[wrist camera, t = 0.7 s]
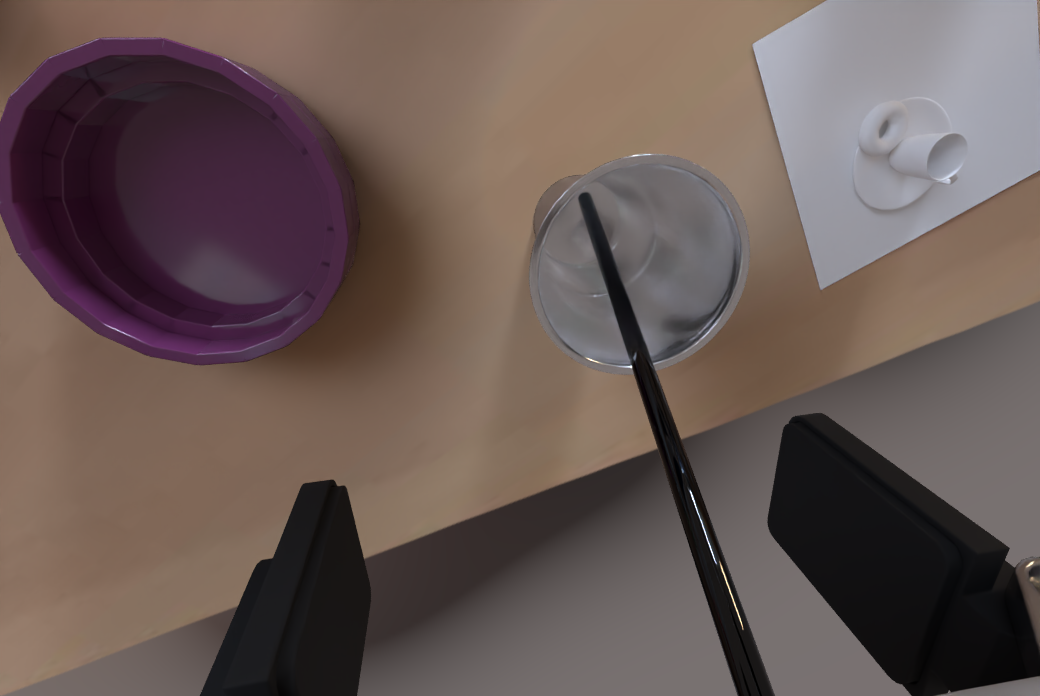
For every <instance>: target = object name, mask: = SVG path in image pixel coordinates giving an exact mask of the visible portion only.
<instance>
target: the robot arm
mask: <svg viewBox="0 0 1040 696" xmlns="http://www.w3.org/2000/svg"><path fill="white" fill-rule="evenodd" d="M768 527H769V530H770V533H771V535H772V536H773V538H774V539H775V540H776V541H777V543H778V544H779V545H780V546H781V547H782V549H783V550H784V551H785V552H786V553H787V555H788V556H789V557H790V558H791V559H792V561H793V562H794V563H795V564H796V565H797V567H798V568H799V569H800V570H801V571H802V573H803V574H804V575H805V576H806V577H807V579H808V580H809V581H810V582H811V583H812V585H813V586H814V587H815V588H816V590H817V591H818V592H819V593H820V594H821V595H822V596H823V598H824V599H825V600H826V601H827V603H828V604H829V605H830V606H831V608H832V609H833V610H834V611H835V612H836V614H837V615H838V616H839V617H840V618H841V620H842V621H843V622H844V623H845V624H846V626H847V627H848V628H849V629H850V630H851V632H852V633H853V634H854V635H855V636H856V638H857V639H858V640H859V641H860V642H861V644H862V645H863V646H864V647H865V648H866V650H867V651H868V652H869V653H870V654H871V656H872V657H873V658H874V659H875V661H876V662H877V663H878V664H879V665H880V667H881V668H882V669H883V670H884V671H885V673H886V674H887V675H888V676H889V677H890V678H891V679H892V680H893V681H895V682H896V683H899V684H902V685H903V686H904V687H905V688H906V689H907V691H908V692H909V693H910V694H911V695H912V696H1040V557H1030V558H1026V559H1023V560H1021V561H1020V562H1019V563H1018V564H1017V565H1016V567H1015V568H1014V567H1013V566H1012V565H1010V564H1009V563H1008V562H1006V561H1005V558H1006V556H1007V553H1008V551H1009V549H1010V548H1009V547H1007V546H1006V545H1005V544H1003V543H1002V542H1001V541H999V540H998V539H996V538H995V537H994V536H992V535H991V534H989V533H988V532H987V531H985V530H984V529H983V528H981V527H980V526H978V525H977V524H975V523H974V522H973V521H971V520H970V519H969V518H967V517H966V516H965V515H963V514H962V513H960V512H959V511H958V510H956V509H955V508H953V507H952V506H950V505H949V504H948V503H946V502H945V501H944V500H942V499H941V498H940V497H938V496H937V495H935V494H934V493H933V492H931V491H930V490H929V489H927V488H926V487H924V486H923V485H922V484H920V483H919V482H917V481H916V480H915V479H913V478H912V477H911V476H909V475H908V474H906V473H905V472H904V471H902V470H901V469H900V468H898V467H897V466H895V465H894V464H893V463H891V462H890V461H889V460H887V459H886V458H884V457H883V456H882V455H880V454H879V453H877V452H876V451H875V450H873V449H872V448H871V447H869V446H868V445H866V444H865V443H864V442H862V441H861V440H859V439H858V438H856V437H855V436H854V435H853V434H851V433H850V432H848V431H847V430H846V429H844V428H843V427H842V426H840V425H839V424H837V423H836V422H835V421H833V420H832V419H830V418H829V417H828V416H826V415H824V414H822V413H814V414H808V415H800V416H795V417H792V418H791V420H790V421H789V424H787V425H785V427H784V429H783V433H782V439H781V444H780V450H779V456H778V462H777V468H776V473H775V479H774V485H773V491H772V496H771V502H770V508H769V514H768ZM370 602H371V590H370V582H369V578H368V574H367V570H366V566H365V562H364V557H363V553H362V549H361V545H360V541H359V537H358V533H357V529H356V525H355V520H354V516H353V512H352V508H351V504H350V500H349V496H348V492H347V488H346V487H345V486H337V484H336V482H335V481H334V480H326V481H319V482H311V483H305V484H303V485H302V486H301V488H300V491H299V493H298V496H297V498H296V501H295V504H294V506H293V509H292V511H291V514H290V516H289V519H288V521H287V524H286V526H285V529H284V532H283V534H282V537H281V539H280V542H279V544H278V547H277V549H276V552H275V554H274V557H273V558H272V559H266V560H261V561H260V562H259V563H258V564H257V565H256V567H255V569H254V570H253V573H252V575H251V577H250V580H249V582H248V584H247V587H246V589H245V591H244V594H243V596H242V598H241V601H240V603H239V605H238V608H237V610H236V612H235V615H234V617H233V619H232V622H231V624H230V627H229V629H228V631H227V634H226V636H225V639H224V640H223V643H222V645H221V648H220V650H219V652H218V655H217V657H216V660H215V662H214V664H213V666H212V669H211V671H210V673H209V676H208V678H207V680H206V683H205V685H204V687H203V690H202V692H201V694H200V696H357V692H358V685H359V678H360V671H361V665H362V657H363V651H364V644H365V637H366V631H367V624H368V617H369V610H370ZM949 690H950V691H951V692H950V693H948V691H949Z"/></svg>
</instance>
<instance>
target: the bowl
mask: <svg viewBox="0 0 1040 696" xmlns="http://www.w3.org/2000/svg"><path fill="white" fill-rule="evenodd" d="M0 214H1V217H2V219H3V221H4V224H5V226H6V229H7V231H8V233H9V236H10V238H11V241H12V243H13V245H14V248H15V250H16V253H18V256H19V257H20V258H21V260H22V261H23V262H24V263H25V265H26V266H27V267H28V268H29V270H30V271H31V272H32V273H33V275H34V276H35V277H36V278H37V280H38V281H39V282H40V284H41V285H42V286H43V287H44V289H45V290H46V291H47V292H48V294H49V295H50V296H51V297H52V298H53V300H54V301H56V302H57V303H58V304H60V305H61V306H62V307H63V308H65V309H66V310H67V311H69V312H70V313H71V314H73V315H74V316H75V317H77V318H78V319H79V320H80V321H82V322H83V323H84V324H86V325H87V326H88V327H90V328H91V329H92V330H93V331H95V332H96V333H98V334H100V335H102V336H104V337H106V338H108V339H111V340H113V341H115V342H117V343H120V344H122V345H124V346H126V347H129V348H131V349H133V350H135V351H138V352H140V353H142V354H144V355H146V356H148V355H149V356H150V357H155V358H161V359H166V360H172V361H177V362H182V363H188V364H193V365H211V364H224V363H237V362H245V361H250V360H252V359H255V358H258V357H260V356H263V355H265V354H268V353H271V352H273V351H276V350H278V349H281V348H284V347H286V346H287V345H289V344H290V343H292V342H293V341H294V340H295V339H297V338H298V337H299V336H300V335H301V334H303V333H304V332H305V331H306V330H307V329H309V328H310V327H311V326H312V325H313V324H315V323H316V322H317V321H318V320H319V319H320V318H321V317H322V315H323V314H324V312H325V310H326V309H327V307H328V306H329V304H330V303H331V301H332V300H333V298H334V297H335V295H336V293H337V291H338V290H339V288H340V286H341V285H342V283H343V281H344V279H345V278H346V276H347V274H348V273H349V271H350V269H351V267H352V266H353V262H354V256H355V251H356V245H357V240H358V235H359V229H360V226H359V225H360V220H359V213H358V207H357V200H356V193H355V186H354V181H353V179H352V177H351V174H350V172H349V170H348V168H347V166H346V164H345V162H344V160H343V157H342V155H341V153H340V151H339V149H338V147H337V145H336V142H335V140H334V139H333V137H332V136H331V135H330V134H329V132H328V131H327V130H326V129H325V128H324V127H323V126H322V124H321V123H320V122H319V121H318V120H317V119H316V117H315V116H314V115H313V114H312V113H311V112H310V110H309V109H308V108H307V107H306V106H305V105H304V103H303V102H302V101H301V100H300V99H299V98H298V97H296V96H295V95H293V94H292V93H290V92H289V91H287V90H286V89H284V88H283V87H281V86H280V85H278V84H277V83H275V82H274V81H272V80H271V79H269V78H268V77H266V76H265V75H263V74H262V73H260V72H259V71H257V70H256V69H253V68H252V67H249V66H246V65H243V64H241V63H238V62H235V61H232V60H230V59H227V58H224V57H221V56H218V55H215V54H212V53H209V52H206V51H203V50H200V49H196V48H193V47H190V46H187V45H184V44H181V43H178V42H175V41H172V40H168V39H165V38H98V39H95V40H93V41H90V42H88V43H85V44H82V45H80V46H77V47H75V48H72V49H69V50H67V51H64V52H62V53H59V54H56V55H54V56H51V57H49V58H48V59H46V60H45V61H44V62H43V63H42V64H41V65H40V66H39V67H38V68H37V69H36V70H35V71H34V72H33V73H32V74H31V75H30V76H29V77H28V78H27V79H26V80H25V81H24V82H23V83H22V84H21V85H20V86H19V87H18V88H17V89H16V90H15V91H14V92H13V93H12V94H11V95H10V97H9V98H8V101H7V104H6V107H5V110H4V113H3V116H2V118H1V121H0Z"/></svg>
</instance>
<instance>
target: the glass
mask: <svg viewBox="0 0 1040 696" xmlns="http://www.w3.org/2000/svg"><path fill="white" fill-rule="evenodd" d="M533 225H534V233H535V241H534V245H533V249H532V253H531V258H530V266H529V286H530V293H531V298H532V303H533V306H534V309H535V312H536V315H537V317H538V319H539V321H540V323H541V325H542V327H543V329H544V330H545V332H546V333H547V335H548V336H549V338H550V339H551V340H552V341H553V342H554V344H555V345H556V346H557V347H558V348H559V349H560V350H562V351H563V352H564V353H565V354H566V355H568V356H569V357H571V358H572V359H574V360H575V361H577V362H579V363H581V364H583V365H585V366H587V367H589V368H592V369H595V370H598V371H602V372H606V373H612V374H624V375H631V374H634V376H635V379H636V382H637V385H638V389H639V392H640V395H641V398H642V401H643V404H644V407H645V410H646V413H647V416H648V419H649V423H650V426H651V429H652V432H653V435H654V438H655V441H656V444H657V447H658V450H659V454H660V456H661V460H662V463H663V466H664V469H665V472H666V475H667V478H668V481H669V485H670V487H671V491H672V494H673V497H674V500H675V503H676V506H677V509H678V512H679V516H680V519H681V521H682V524H683V528H684V531H685V534H686V537H687V540H688V543H689V547H690V550H691V553H692V556H693V559H694V561H695V565H696V568H697V571H698V574H699V577H700V581H701V584H702V587H703V589H704V593H705V596H706V599H707V602H708V605H709V608H710V611H711V615H712V617H713V621H714V624H715V627H716V630H717V633H718V636H719V639H720V642H721V646H722V648H723V652H724V655H725V658H726V661H727V664H728V667H729V670H730V674H731V677H732V680H733V683H734V686H735V689H736V692H737V695H738V696H775V694H774V692H773V689H772V686H771V683H770V681H769V678H768V675H767V673H766V670H765V667H764V664H763V662H762V659H761V656H760V654H759V651H758V648H757V645H756V643H755V640H754V637H753V634H752V632H751V629H750V627H749V623H748V621H747V618H746V615H745V613H744V610H743V607H742V604H741V602H740V599H739V596H738V594H737V591H736V588H735V585H734V583H733V580H732V577H731V574H730V572H729V569H728V566H727V563H726V561H725V558H724V555H723V553H722V550H721V547H720V545H719V542H718V539H717V536H716V534H715V531H714V528H713V525H712V523H711V520H710V517H709V515H708V512H707V509H706V506H705V504H704V501H703V498H702V496H701V493H700V490H699V487H698V485H697V482H696V479H695V476H694V474H693V471H692V468H691V466H690V463H689V460H688V457H687V454H686V452H685V449H684V446H683V444H682V441H681V438H680V435H679V433H678V430H677V427H676V424H675V422H674V419H673V416H672V413H671V411H670V408H669V405H668V403H667V400H666V397H665V394H664V392H663V389H662V386H661V383H660V381H659V378H658V375H657V373H656V371H657V370H660V369H664V368H666V367H669V366H672V365H674V364H676V363H678V362H680V361H682V360H684V359H686V358H688V357H689V356H691V355H692V354H694V353H695V352H697V351H698V350H699V349H701V348H702V347H703V346H704V345H706V344H707V343H708V342H709V341H710V340H711V339H712V338H713V337H714V336H715V335H716V334H717V333H718V332H719V331H720V330H721V328H722V327H723V326H724V325H725V323H726V322H727V320H728V319H729V317H730V316H731V314H732V313H733V311H734V309H735V307H736V305H737V304H738V301H739V299H740V297H741V294H742V292H743V289H744V286H745V283H746V279H747V274H748V269H749V261H750V243H749V235H748V229H747V225H746V222H745V219H744V216H743V213H742V211H741V209H740V207H739V205H738V203H737V201H736V199H735V198H734V196H733V195H732V193H731V192H730V191H729V189H728V188H727V187H726V186H725V185H724V184H723V183H722V182H721V181H720V180H719V179H718V178H717V177H716V176H715V175H713V174H712V173H711V172H709V171H708V170H706V169H705V168H703V167H701V166H699V165H698V164H696V163H693V162H691V161H688V160H686V159H683V158H679V157H675V156H670V155H663V154H639V155H632V156H627V157H623V158H619V159H616V160H613V161H610V162H608V163H605V164H603V165H601V166H599V167H597V168H595V169H593V170H592V171H590V172H588V173H587V174H584V175H573V176H568V177H565V178H563V179H560V180H558V181H557V182H555V183H554V184H552V185H551V186H550V187H549V188H548V189H547V190H546V191H545V192H544V193H543V195H542V196H541V198H540V199H539V201H538V204H537V206H536V209H535V213H534V220H533Z"/></svg>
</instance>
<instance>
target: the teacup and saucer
mask: <svg viewBox="0 0 1040 696" xmlns="http://www.w3.org/2000/svg"><path fill="white" fill-rule="evenodd" d="M886 155H888V163H889V165H890V166H891V167H892V169H889V168H888V169H887V167H886V166H885V165H886V164H885V162H886V161H885V160H884V159H885V158H884V157H885V156H886ZM968 155H969V142H968V140H967V138H966V137H965V136H964V135H963V134H962V133H960V132H953V128H952V123H951V120H950V117H949V115H948V113H947V111H946V110H945V109H944V108H943V106H942V105H941V104H939V103H938V102H937V101H935V100H933V99H931V98H928V97H923V96H913V97H908V98H904V99H901V100H899V101H898V100H888V101H884V102H882V103H880V104H878V105H876V106H875V107H874V108H872V109H871V110H870V111H869V112H868V114H867V115H866V116H865V117H864V119H863V121H862V123H861V125H860V127H859V131H858V145H857V147H856V150H855V153H854V157H853V163H852V180H853V185H854V188H855V191H856V193H857V195H858V196H859V198H860V199H861V200H862V201H863V202H864V203H865V204H866V205H868V206H869V207H871V208H873V209H875V210H879V211H894V210H899V209H902V208H904V207H907V206H909V205H911V204H913V203H914V202H916V201H917V200H919V199H920V198H921V197H922V196H924V195H925V194H926V193H927V192H928V191H929V190H930V189H931V188H932V187H933V185H934V184H935V183H937V184H940V185H944V186H951V185H953V184H954V183H955V182H956V181H957V180H958V179H959V174H958V172H959V171H960V170H961V169H962V167H963V166H964V164H965V163H966V161H967V158H968Z"/></svg>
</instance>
